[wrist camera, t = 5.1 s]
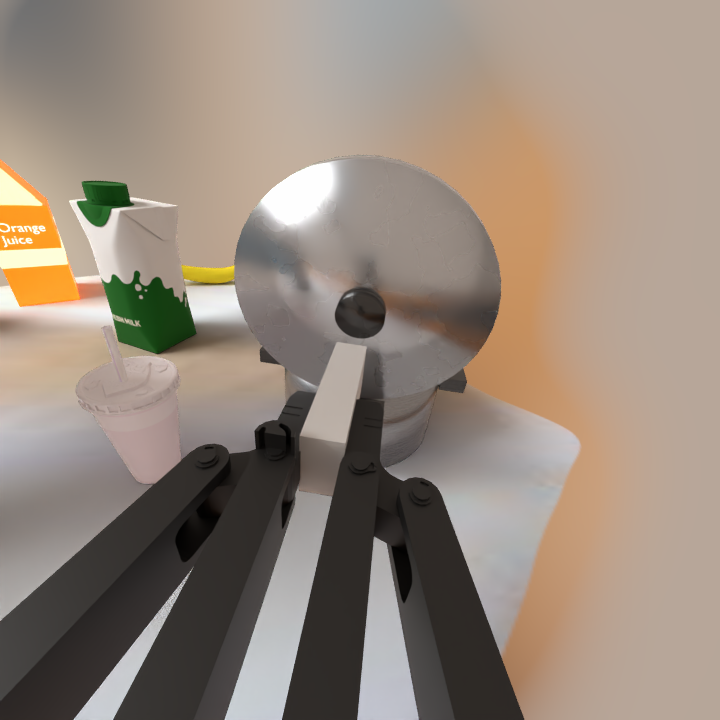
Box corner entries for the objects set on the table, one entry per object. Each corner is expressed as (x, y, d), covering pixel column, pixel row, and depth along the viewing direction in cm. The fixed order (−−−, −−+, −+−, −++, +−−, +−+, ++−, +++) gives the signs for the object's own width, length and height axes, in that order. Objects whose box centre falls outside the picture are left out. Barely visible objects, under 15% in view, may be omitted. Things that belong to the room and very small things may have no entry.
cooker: (290, 364, 45) (290, 303, 41) (439, 387, 44) (456, 327, 40) (232, 464, 30) (221, 384, 25) (456, 502, 29) (487, 427, 24)
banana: (157, 282, 66) (149, 250, 62) (255, 280, 73) (253, 251, 69) (155, 287, 63) (148, 254, 60) (257, 284, 70) (255, 255, 67)
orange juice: (77, 283, 61) (33, 158, 51) (81, 299, 56) (32, 163, 45) (19, 288, 57) (-42, 153, 46) (17, 307, 51) (-53, 157, 41)
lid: (216, 136, 16) (196, 142, 15) (549, 176, 15) (563, 187, 14) (257, 372, 27) (247, 390, 25) (455, 403, 26) (457, 423, 24)
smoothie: (95, 493, 26) (19, 340, 19) (144, 436, 32) (100, 300, 25) (173, 502, 26) (128, 353, 19) (209, 444, 32) (185, 310, 25)
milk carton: (107, 342, 45) (51, 178, 35) (161, 319, 53) (129, 177, 42) (157, 359, 43) (114, 189, 33) (206, 332, 50) (184, 186, 40)
